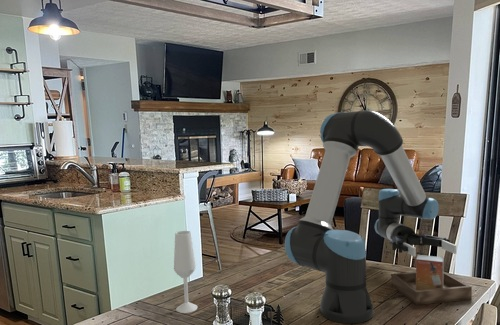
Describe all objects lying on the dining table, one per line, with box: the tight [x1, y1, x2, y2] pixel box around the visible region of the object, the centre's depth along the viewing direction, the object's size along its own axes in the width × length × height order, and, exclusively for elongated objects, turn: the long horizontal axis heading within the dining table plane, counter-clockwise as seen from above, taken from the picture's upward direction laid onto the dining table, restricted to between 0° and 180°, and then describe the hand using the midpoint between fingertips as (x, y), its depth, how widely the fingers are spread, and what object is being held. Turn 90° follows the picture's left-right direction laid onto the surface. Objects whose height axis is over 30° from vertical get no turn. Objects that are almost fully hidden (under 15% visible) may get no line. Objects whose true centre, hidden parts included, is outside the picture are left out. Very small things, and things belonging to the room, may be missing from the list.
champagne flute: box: [173, 230, 199, 314], centre depth 123 cm, size 7×7×24 cm
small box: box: [415, 254, 445, 290], centre depth 128 cm, size 8×6×10 cm
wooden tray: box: [390, 271, 473, 306], centre depth 129 cm, size 18×16×4 cm
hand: (435, 250), depth 125 cm, fingers open, 13 cm apart
